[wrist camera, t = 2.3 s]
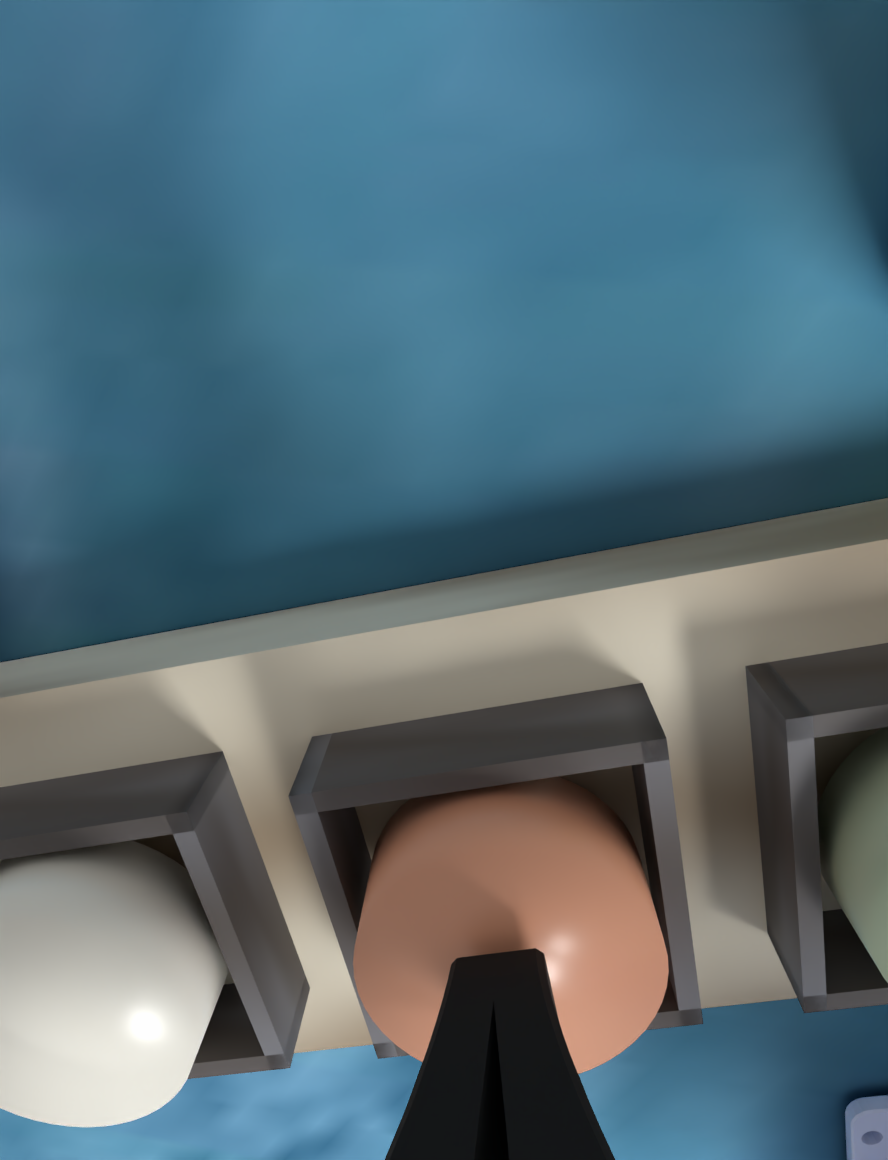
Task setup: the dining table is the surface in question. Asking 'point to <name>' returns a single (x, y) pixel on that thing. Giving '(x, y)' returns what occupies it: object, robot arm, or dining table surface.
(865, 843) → the button sage
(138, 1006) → the button cream
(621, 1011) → the button terracotta
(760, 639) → the button board
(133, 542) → the dining table surface
